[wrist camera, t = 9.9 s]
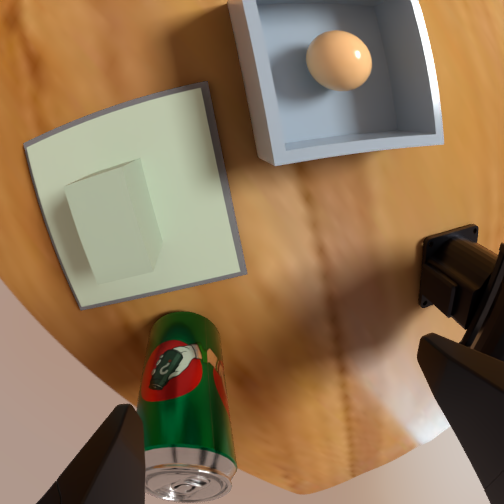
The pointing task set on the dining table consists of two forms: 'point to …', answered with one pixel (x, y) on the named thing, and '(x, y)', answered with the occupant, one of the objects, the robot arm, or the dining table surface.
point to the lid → (136, 200)
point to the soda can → (186, 411)
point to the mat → (221, 172)
